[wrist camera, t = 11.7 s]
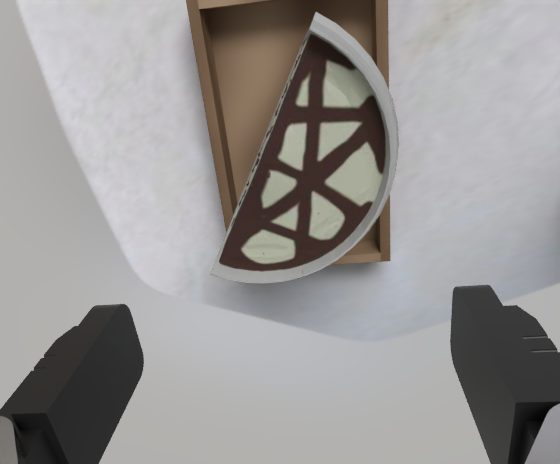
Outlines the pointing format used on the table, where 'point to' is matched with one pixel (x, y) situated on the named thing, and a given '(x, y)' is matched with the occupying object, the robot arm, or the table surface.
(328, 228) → the food container
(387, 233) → the walnut tray
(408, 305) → the table surface
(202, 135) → the table surface
